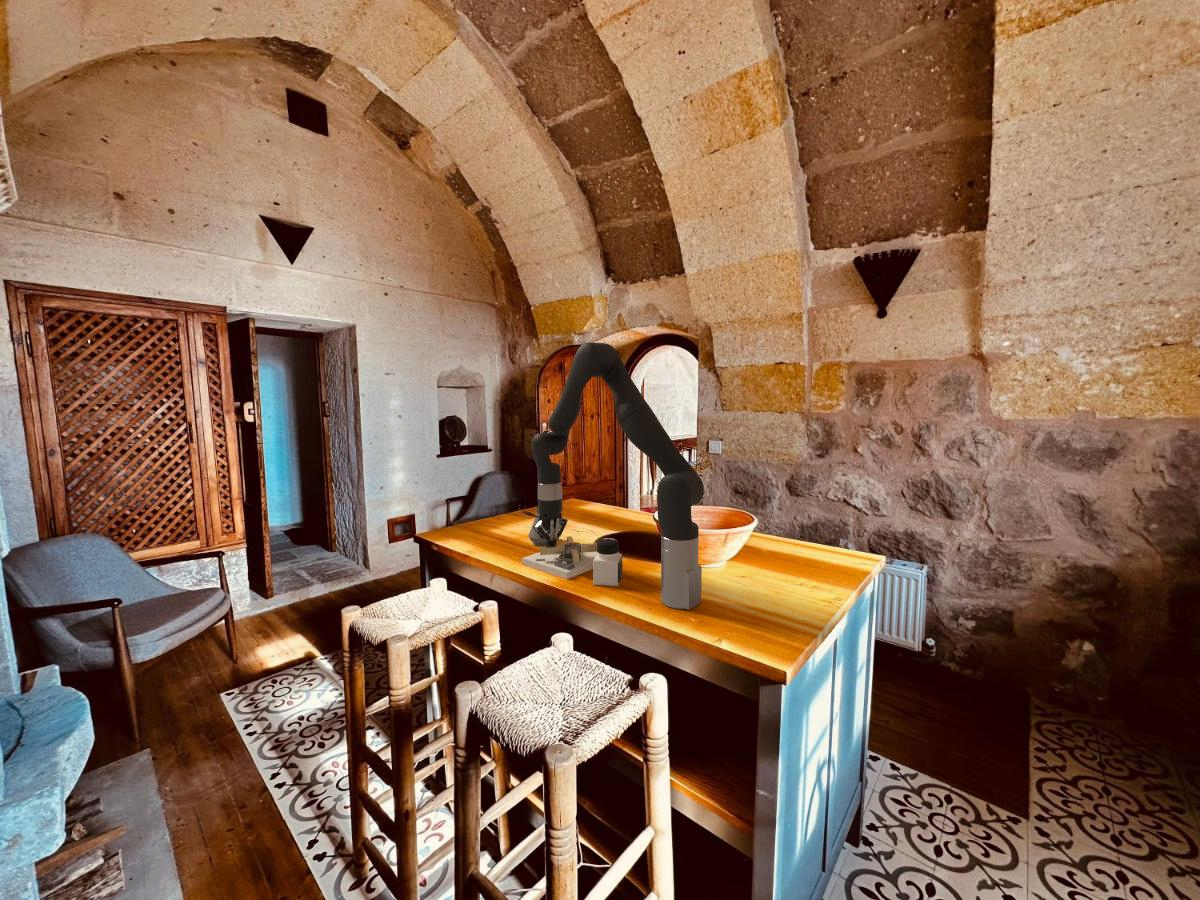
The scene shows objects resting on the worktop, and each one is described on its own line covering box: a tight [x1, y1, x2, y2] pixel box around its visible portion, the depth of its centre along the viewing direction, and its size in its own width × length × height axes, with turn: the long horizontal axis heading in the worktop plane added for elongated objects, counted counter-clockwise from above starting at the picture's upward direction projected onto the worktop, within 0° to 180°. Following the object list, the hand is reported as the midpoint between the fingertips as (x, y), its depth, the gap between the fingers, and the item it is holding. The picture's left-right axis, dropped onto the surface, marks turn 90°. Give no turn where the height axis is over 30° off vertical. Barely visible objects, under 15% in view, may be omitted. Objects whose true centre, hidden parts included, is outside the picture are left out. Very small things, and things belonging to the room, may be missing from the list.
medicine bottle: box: [592, 537, 623, 587], centre depth 139 cm, size 7×7×12 cm
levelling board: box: [521, 551, 597, 580], centre depth 155 cm, size 20×19×4 cm
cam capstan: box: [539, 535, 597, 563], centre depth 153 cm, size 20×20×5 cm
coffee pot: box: [518, 505, 561, 547], centre depth 172 cm, size 21×12×15 cm, turn 159°
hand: (551, 551), depth 154 cm, fingers closed
